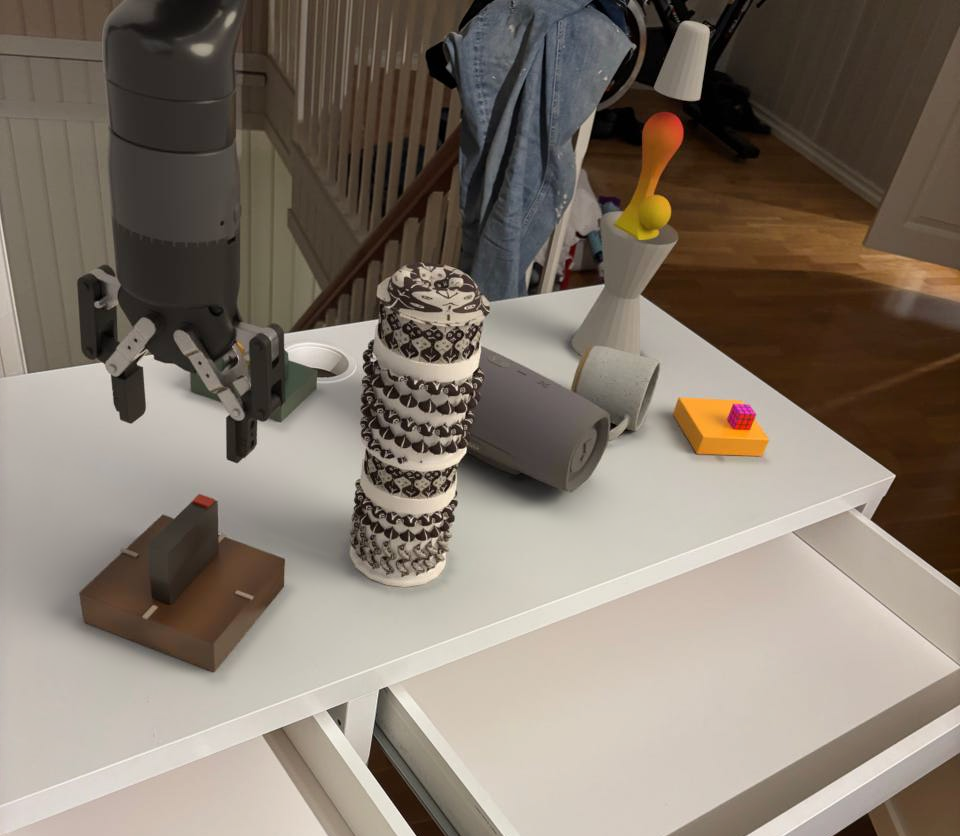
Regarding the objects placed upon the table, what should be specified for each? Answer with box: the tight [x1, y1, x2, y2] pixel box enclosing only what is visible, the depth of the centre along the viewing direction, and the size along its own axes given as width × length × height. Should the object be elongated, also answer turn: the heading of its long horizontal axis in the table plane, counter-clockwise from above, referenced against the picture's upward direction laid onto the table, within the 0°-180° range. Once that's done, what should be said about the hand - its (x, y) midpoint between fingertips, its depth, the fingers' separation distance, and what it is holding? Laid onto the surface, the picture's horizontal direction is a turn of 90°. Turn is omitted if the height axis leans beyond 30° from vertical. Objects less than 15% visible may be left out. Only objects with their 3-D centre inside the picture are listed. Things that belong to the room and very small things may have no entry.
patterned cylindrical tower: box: [349, 261, 491, 588], centre depth 76 cm, size 9×9×25 cm
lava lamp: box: [571, 20, 711, 357], centre depth 108 cm, size 9×9×35 cm
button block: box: [189, 342, 318, 423], centre depth 99 cm, size 10×8×4 cm
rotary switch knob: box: [147, 493, 220, 604], centre depth 72 cm, size 7×2×5 cm, turn 161°
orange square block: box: [672, 397, 770, 457], centre depth 108 cm, size 8×8×4 cm
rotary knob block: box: [78, 514, 286, 673], centre depth 75 cm, size 11×11×3 cm
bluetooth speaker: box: [466, 345, 612, 494], centre depth 96 cm, size 23×9×10 cm, turn 56°
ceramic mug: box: [570, 346, 661, 443], centre depth 104 cm, size 11×8×8 cm
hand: (185, 437), depth 70 cm, fingers open, 8 cm apart
